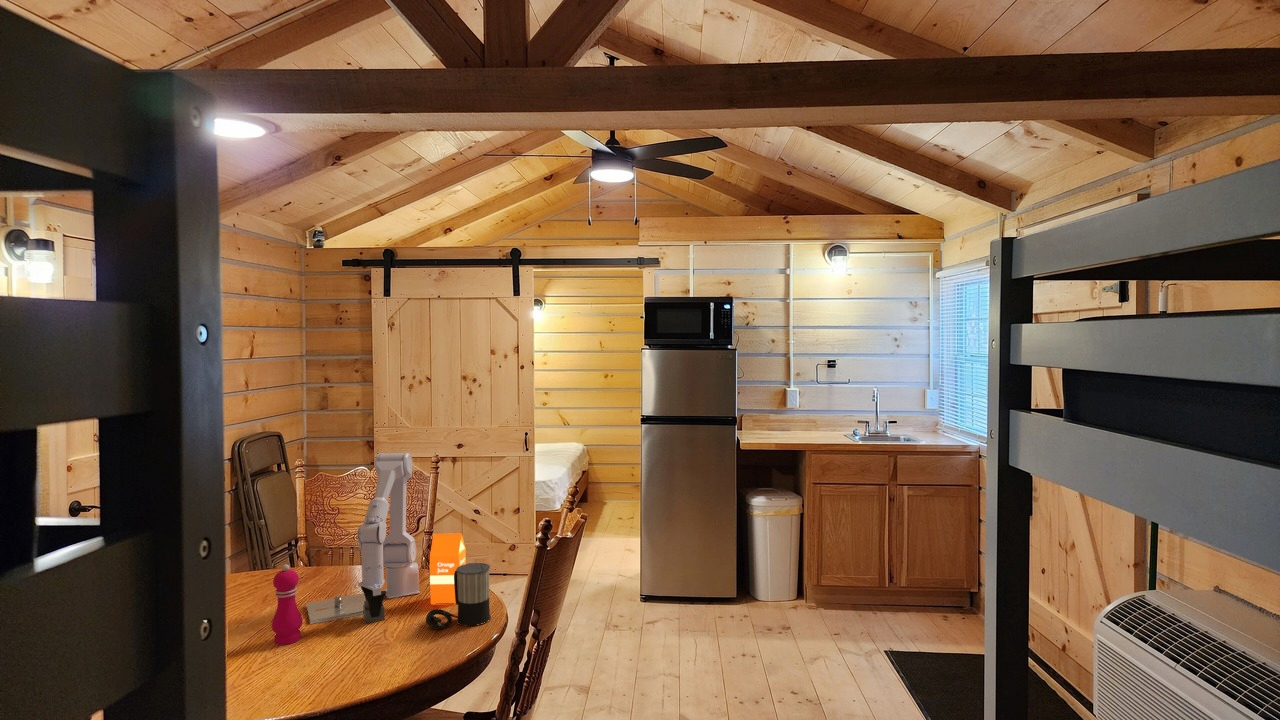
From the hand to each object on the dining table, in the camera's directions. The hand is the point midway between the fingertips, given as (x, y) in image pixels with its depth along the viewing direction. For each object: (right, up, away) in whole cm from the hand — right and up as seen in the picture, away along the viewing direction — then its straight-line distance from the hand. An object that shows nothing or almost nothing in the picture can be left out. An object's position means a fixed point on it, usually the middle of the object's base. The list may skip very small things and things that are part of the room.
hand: (373, 613), depth 199 cm
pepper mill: (-17, -2, -14) cm, 22 cm away
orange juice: (+17, -1, +14) cm, 22 cm away
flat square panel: (-13, -2, +8) cm, 15 cm away
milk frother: (+25, -1, -4) cm, 26 cm away
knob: (0, -1, 0) cm, 1 cm away
